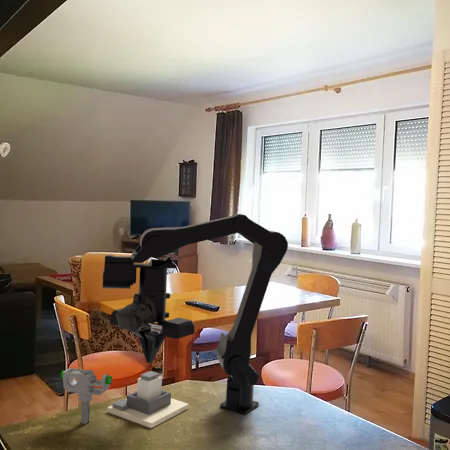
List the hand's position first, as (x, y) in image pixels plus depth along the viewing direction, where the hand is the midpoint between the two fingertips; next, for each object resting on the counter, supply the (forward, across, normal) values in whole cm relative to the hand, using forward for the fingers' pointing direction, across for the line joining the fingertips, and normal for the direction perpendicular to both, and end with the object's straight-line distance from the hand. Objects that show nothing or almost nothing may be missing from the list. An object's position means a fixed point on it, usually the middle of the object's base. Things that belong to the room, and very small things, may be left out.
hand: (149, 362), depth 106 cm
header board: (+10, 0, 0) cm, 10 cm away
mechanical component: (+10, -6, -12) cm, 17 cm away
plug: (+9, 0, 0) cm, 9 cm away
